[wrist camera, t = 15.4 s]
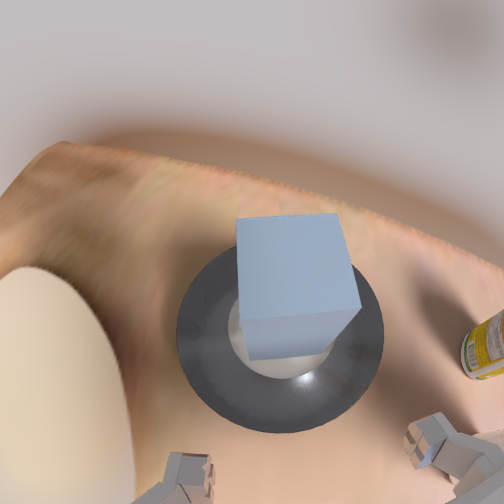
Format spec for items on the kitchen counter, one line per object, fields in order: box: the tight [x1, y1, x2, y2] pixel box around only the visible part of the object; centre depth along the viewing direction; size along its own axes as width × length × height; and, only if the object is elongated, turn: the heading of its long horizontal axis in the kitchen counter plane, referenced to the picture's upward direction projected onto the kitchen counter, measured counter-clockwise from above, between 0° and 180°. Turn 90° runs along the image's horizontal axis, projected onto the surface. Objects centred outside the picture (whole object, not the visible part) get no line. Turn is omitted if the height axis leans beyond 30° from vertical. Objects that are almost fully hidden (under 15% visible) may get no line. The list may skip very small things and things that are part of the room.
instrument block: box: [236, 213, 362, 361], centre depth 14 cm, size 4×4×8 cm
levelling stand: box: [176, 246, 384, 433], centre depth 19 cm, size 14×14×5 cm
